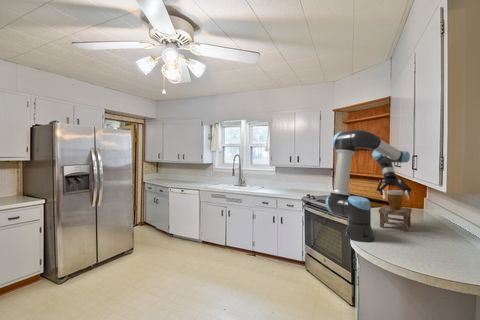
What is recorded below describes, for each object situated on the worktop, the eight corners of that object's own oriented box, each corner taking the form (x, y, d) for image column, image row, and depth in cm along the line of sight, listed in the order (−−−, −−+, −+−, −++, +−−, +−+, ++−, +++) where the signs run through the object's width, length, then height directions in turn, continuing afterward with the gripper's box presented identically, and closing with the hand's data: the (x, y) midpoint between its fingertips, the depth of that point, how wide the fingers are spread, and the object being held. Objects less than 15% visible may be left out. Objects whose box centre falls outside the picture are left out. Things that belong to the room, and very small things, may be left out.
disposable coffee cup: (398, 207, 162) (398, 189, 162) (406, 210, 153) (406, 191, 152) (383, 207, 163) (383, 189, 163) (391, 210, 154) (391, 192, 153)
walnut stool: (378, 227, 157) (378, 209, 157) (384, 222, 169) (384, 205, 169) (408, 232, 147) (408, 212, 146) (411, 226, 158) (411, 208, 158)
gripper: (408, 178, 168) (416, 203, 154) (369, 177, 176) (374, 201, 162) (410, 171, 163) (420, 196, 149) (370, 171, 171) (376, 195, 157)
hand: (396, 199), depth 155 cm, fingers open, 13 cm apart
